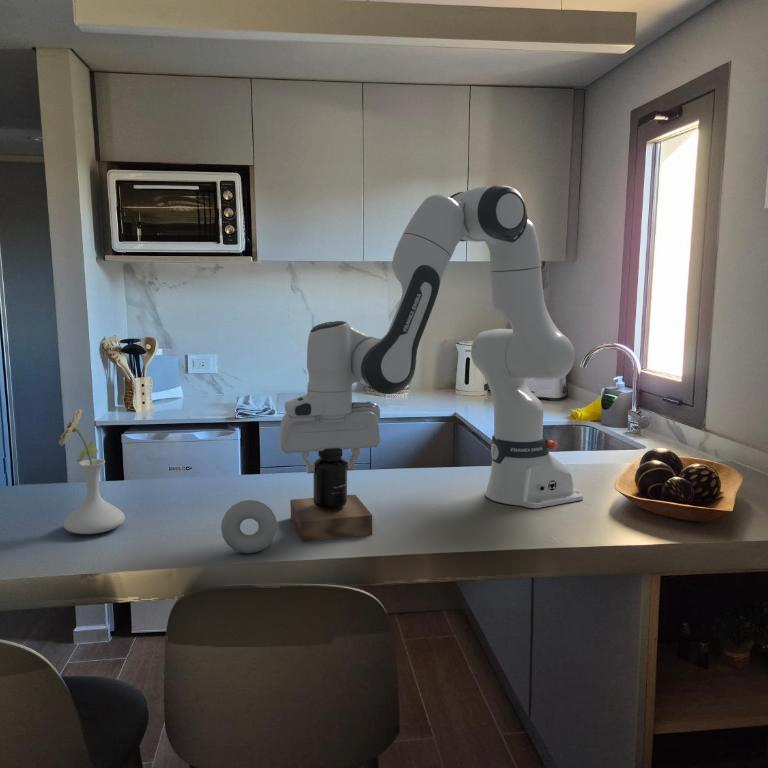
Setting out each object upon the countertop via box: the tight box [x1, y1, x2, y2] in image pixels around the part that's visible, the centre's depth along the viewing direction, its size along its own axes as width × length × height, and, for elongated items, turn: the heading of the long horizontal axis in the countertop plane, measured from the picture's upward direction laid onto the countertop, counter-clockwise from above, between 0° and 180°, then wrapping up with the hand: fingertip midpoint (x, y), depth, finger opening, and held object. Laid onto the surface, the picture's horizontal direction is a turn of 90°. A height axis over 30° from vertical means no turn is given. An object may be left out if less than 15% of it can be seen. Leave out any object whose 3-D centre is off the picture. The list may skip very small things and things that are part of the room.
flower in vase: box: [58, 408, 126, 535], centre depth 132 cm, size 13×11×25 cm
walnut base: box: [290, 494, 373, 542], centre depth 137 cm, size 14×14×4 cm
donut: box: [220, 499, 278, 555], centre depth 122 cm, size 10×4×10 cm, turn 100°
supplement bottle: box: [312, 448, 348, 509], centre depth 136 cm, size 7×7×12 cm
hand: (330, 471), depth 136 cm, fingers closed on supplement bottle, 7 cm apart
